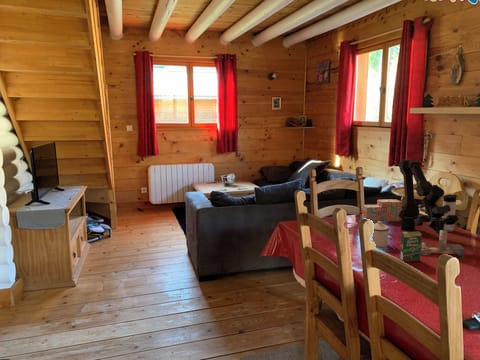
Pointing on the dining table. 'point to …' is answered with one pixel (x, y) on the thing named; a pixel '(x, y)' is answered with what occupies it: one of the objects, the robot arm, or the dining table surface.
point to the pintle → (424, 248)
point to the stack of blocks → (382, 211)
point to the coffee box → (410, 246)
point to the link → (441, 245)
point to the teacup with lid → (380, 234)
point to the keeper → (457, 249)
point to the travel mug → (451, 202)
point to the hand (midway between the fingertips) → (442, 236)
